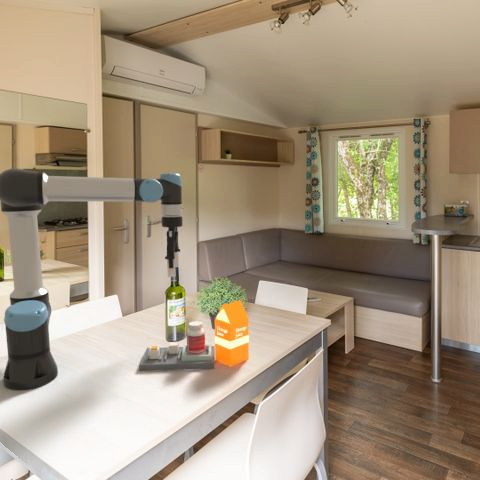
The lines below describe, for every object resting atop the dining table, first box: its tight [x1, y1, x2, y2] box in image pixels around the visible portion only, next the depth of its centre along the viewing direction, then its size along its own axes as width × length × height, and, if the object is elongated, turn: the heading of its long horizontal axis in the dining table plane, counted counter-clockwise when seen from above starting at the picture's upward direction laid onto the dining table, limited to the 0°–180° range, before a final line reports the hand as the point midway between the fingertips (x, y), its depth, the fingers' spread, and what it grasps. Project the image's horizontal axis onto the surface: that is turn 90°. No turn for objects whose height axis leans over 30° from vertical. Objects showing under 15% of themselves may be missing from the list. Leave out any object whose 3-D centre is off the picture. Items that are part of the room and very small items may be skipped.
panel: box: [139, 344, 216, 372], centre depth 144 cm, size 24×14×4 cm, turn 93°
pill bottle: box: [186, 321, 206, 355], centre depth 144 cm, size 6×6×11 cm
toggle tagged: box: [149, 345, 161, 359], centre depth 142 cm, size 3×3×3 cm
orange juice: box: [214, 299, 250, 367], centre depth 144 cm, size 8×9×20 cm
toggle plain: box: [168, 341, 180, 354], centre depth 146 cm, size 3×3×3 cm
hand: (173, 272), depth 158 cm, fingers open, 13 cm apart
